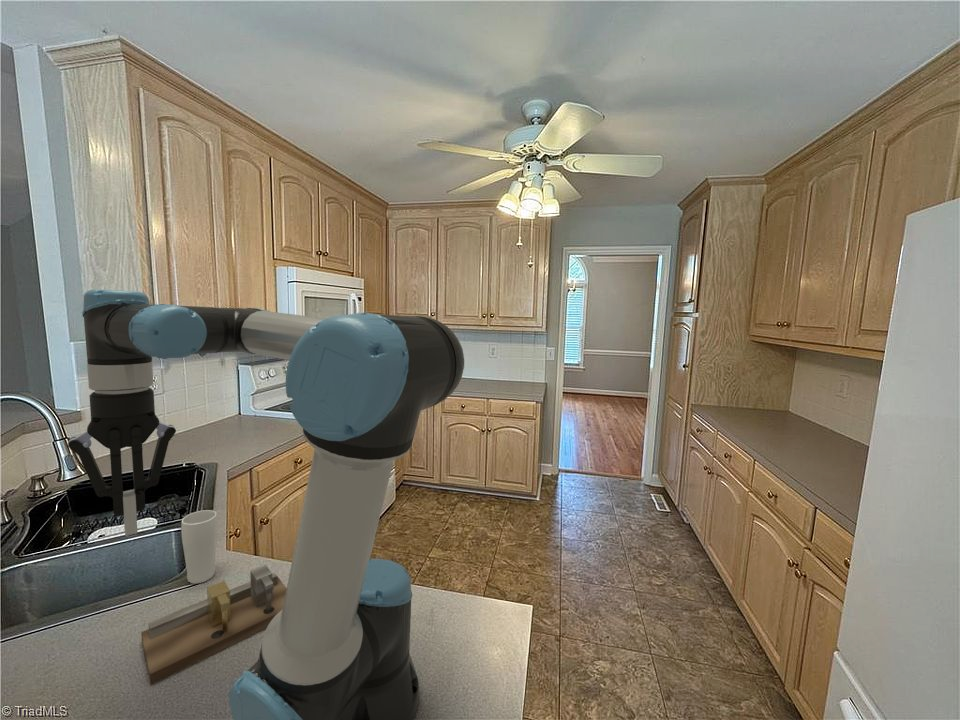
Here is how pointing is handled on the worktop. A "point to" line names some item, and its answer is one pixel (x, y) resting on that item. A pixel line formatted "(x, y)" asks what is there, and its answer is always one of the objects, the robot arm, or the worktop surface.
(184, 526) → the drinking glass
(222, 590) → the sliding leg
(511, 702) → the worktop surface
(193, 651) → the hole board
